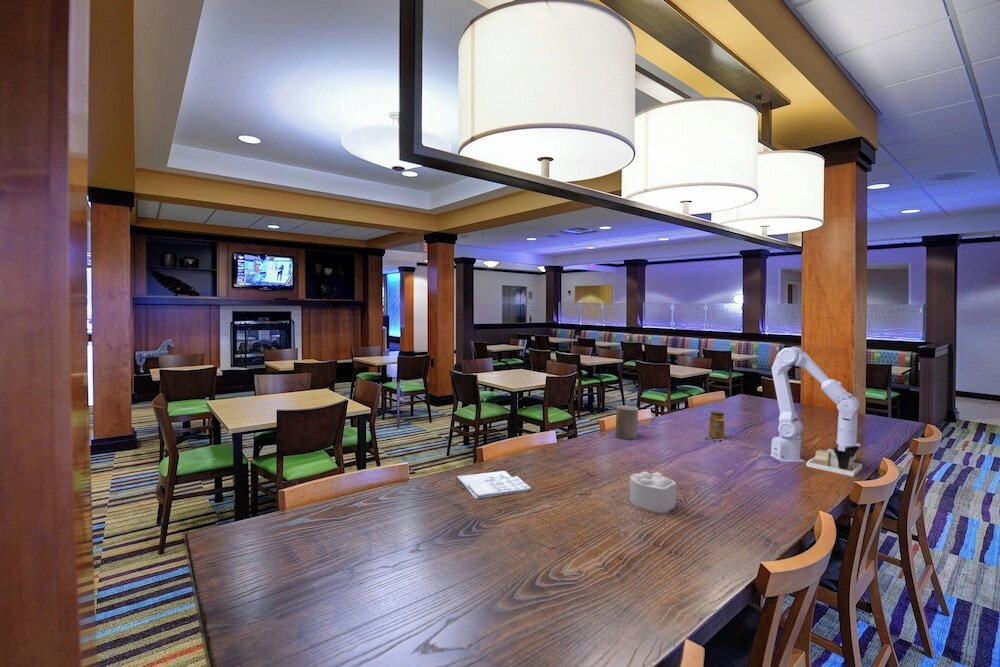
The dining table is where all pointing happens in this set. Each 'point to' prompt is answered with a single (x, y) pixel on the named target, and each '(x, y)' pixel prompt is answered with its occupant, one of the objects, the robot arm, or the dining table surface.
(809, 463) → the parts tray
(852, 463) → the labelled block
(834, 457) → the sage stand
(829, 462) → the plain block
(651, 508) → the lumpy-topped squat cylinder
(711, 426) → the condiment
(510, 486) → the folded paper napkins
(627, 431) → the pillar candle
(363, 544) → the dining table surface
